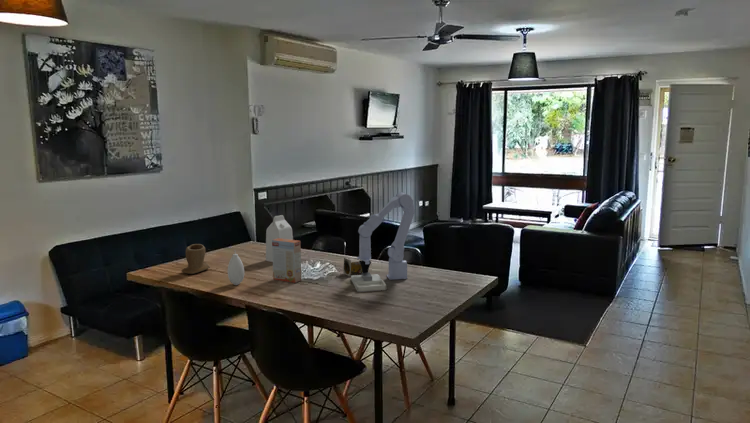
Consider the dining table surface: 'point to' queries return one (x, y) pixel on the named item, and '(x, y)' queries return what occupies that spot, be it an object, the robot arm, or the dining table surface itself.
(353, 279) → the board
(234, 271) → the white vase
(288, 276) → the cracker box
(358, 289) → the tray
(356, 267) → the condiment
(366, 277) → the tile front
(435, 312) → the dining table surface
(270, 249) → the milk
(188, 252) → the stone cup
